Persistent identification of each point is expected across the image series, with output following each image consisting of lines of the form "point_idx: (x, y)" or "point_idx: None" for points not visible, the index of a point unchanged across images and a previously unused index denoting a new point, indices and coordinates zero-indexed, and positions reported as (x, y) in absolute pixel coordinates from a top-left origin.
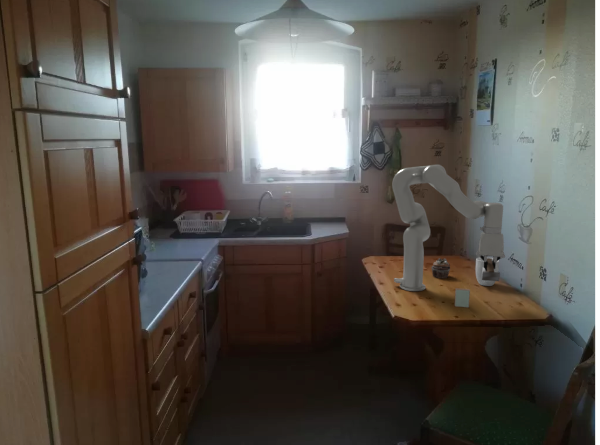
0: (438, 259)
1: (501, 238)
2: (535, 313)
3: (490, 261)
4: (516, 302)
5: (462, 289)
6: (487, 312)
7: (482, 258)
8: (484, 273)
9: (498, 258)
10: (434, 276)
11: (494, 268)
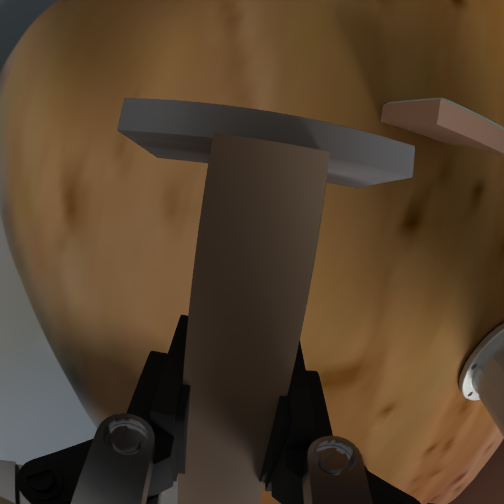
0: None
1: None
2: (41, 67)
3: (205, 475)
4: (83, 221)
5: (482, 123)
6: (295, 26)
7: (384, 493)
8: (382, 142)
9: (53, 477)
10: (366, 469)
11: (162, 353)
